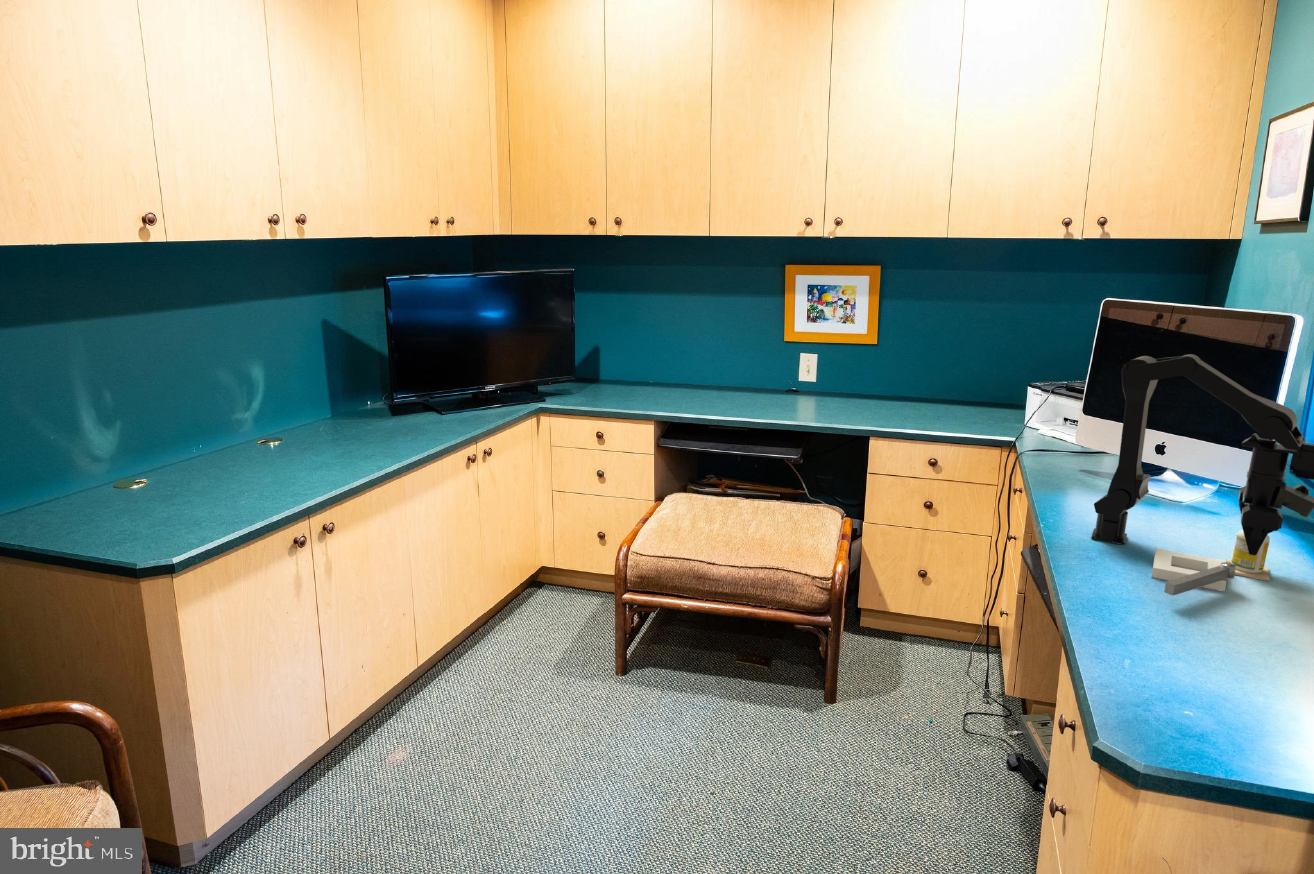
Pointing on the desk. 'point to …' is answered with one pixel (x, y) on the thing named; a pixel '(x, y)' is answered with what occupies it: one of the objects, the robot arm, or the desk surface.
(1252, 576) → the coaster
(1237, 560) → the supplement bottle
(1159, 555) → the socket housing
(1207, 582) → the latch arm
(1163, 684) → the desk surface
